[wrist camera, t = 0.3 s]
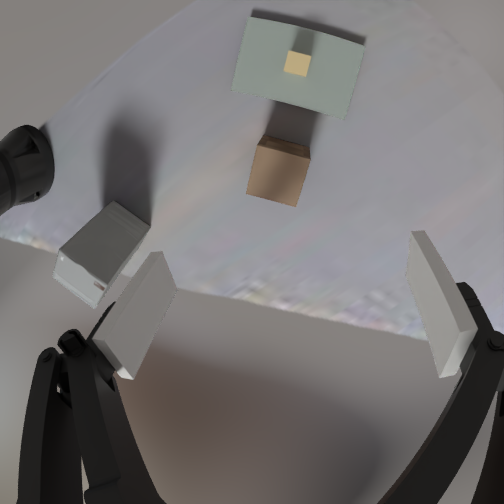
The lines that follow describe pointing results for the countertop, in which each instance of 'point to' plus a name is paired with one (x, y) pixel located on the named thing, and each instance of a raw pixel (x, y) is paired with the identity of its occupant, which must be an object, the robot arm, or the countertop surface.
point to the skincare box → (99, 253)
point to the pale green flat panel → (297, 66)
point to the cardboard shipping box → (278, 170)
